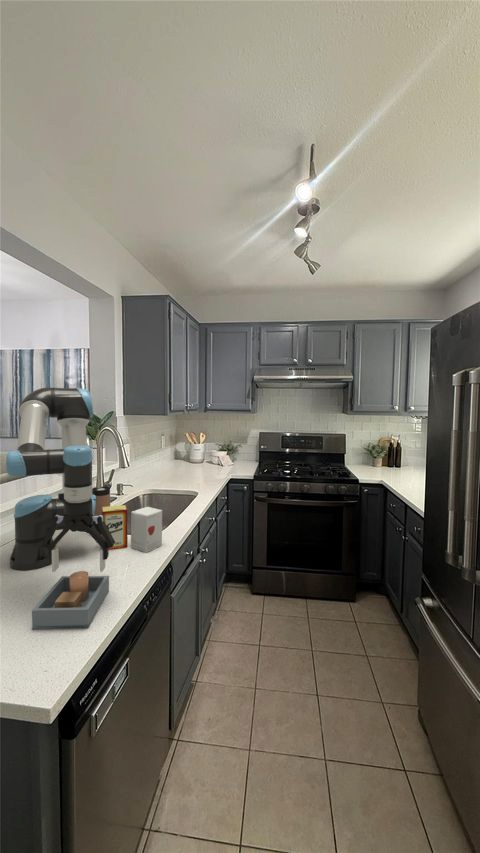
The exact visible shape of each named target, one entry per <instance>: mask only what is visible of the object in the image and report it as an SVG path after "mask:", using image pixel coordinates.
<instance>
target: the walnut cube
mask: <svg viewBox="0 0 480 853" xmlns="http://www.w3.org/2000/svg"><path fill="white" fill-rule="evenodd" d="M81 607H82V595H81V592H63V593H62V594H61V595H60V596H59V597H58V599H57V600H56V601H55V608H81Z"/></svg>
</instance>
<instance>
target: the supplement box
mask: <svg viewBox="0 0 480 853" xmlns="http://www.w3.org/2000/svg"><path fill="white" fill-rule="evenodd" d="M162 544H163V509H159V508H154V507H151V506H145V507H142V508H138V509H136V510H133V511H131V512H130V548H131V549H134V550H137V551H139V552H143V553H145V554H147V553H149V552H151V551H153V550H155V548H156V549H158V548H160V547H162V546H161V545H162ZM159 546H160V547H159ZM157 547H158V548H157Z"/></svg>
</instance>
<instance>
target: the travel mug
mask: <svg viewBox="0 0 480 853" xmlns="http://www.w3.org/2000/svg"><path fill="white" fill-rule="evenodd" d="M92 495H95V496H96V506H95V514H94V516H100V515H101V514H102V507H109V506H111V488H110V486H101V487H97V486H94V487H92ZM92 524H93V525H94V526H95V529H96V530H97V531H98V532H99V533H100V534H101V535H102V533H101V531H100V529H99V527H98V524H96V522H95V521H93V523H92Z"/></svg>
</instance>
